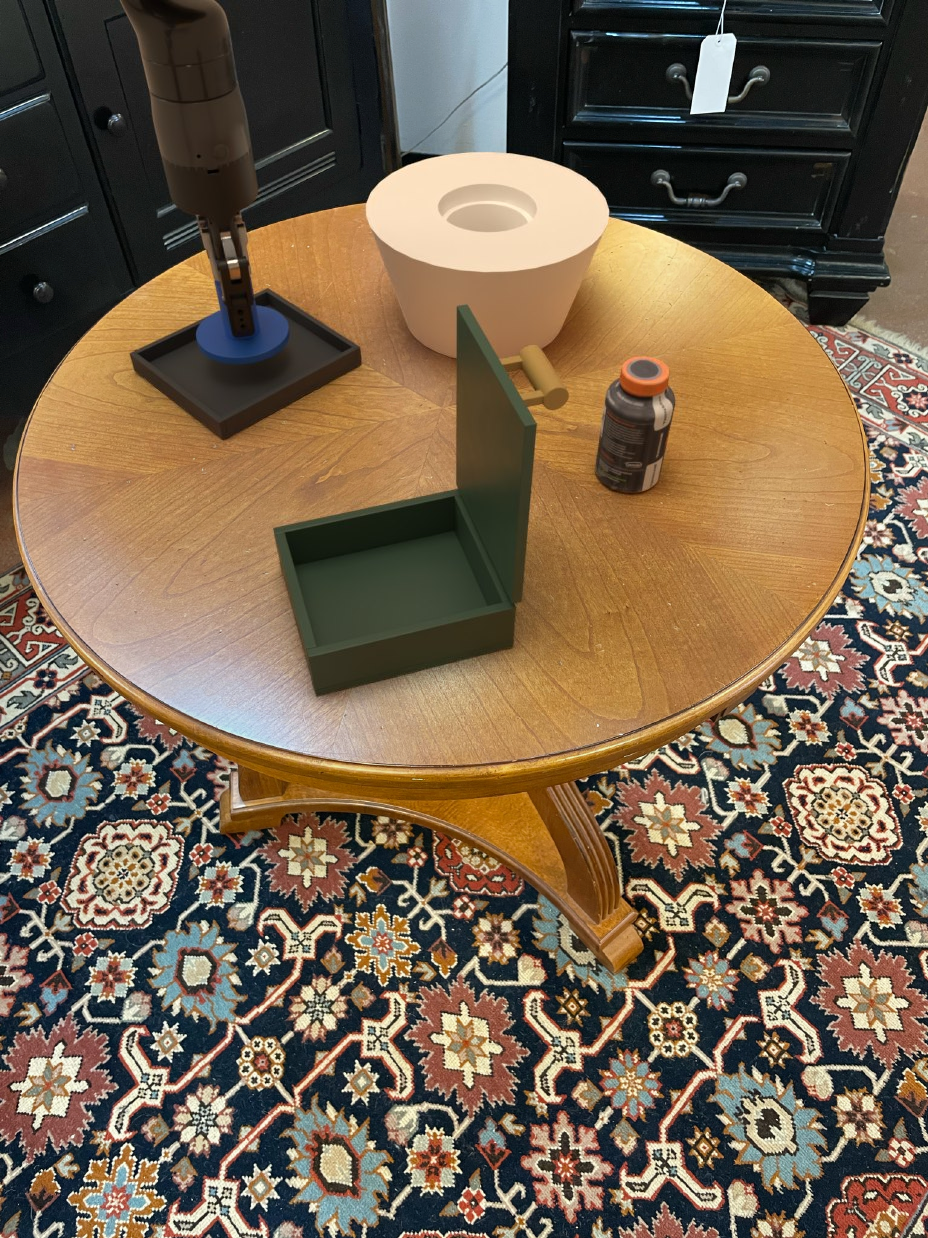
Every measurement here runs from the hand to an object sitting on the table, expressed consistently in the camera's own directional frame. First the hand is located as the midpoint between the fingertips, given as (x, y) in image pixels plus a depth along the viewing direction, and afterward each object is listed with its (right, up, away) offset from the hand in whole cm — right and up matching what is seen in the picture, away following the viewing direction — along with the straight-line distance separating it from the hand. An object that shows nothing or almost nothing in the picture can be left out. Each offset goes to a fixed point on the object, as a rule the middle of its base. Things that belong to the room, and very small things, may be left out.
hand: (240, 322), depth 93 cm
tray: (0, -3, +4) cm, 5 cm away
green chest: (+16, -28, -16) cm, 36 cm away
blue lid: (0, -1, +1) cm, 2 cm away
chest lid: (+23, -18, -25) cm, 39 cm away
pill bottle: (+37, -16, -6) cm, 40 cm away
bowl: (+24, +4, +11) cm, 27 cm away
